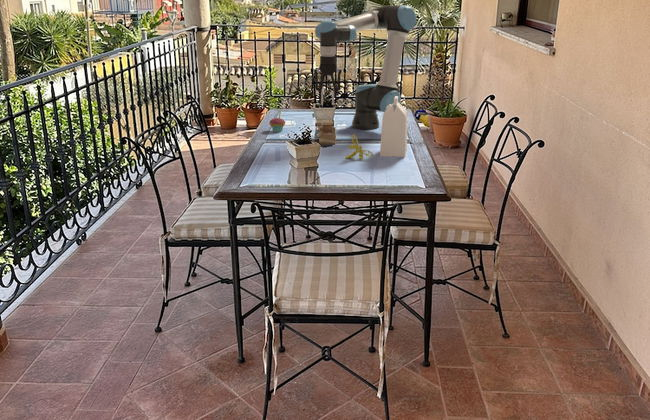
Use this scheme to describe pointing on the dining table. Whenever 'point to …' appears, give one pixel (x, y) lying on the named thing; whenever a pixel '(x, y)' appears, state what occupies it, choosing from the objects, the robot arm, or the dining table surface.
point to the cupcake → (277, 123)
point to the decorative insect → (358, 150)
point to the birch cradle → (327, 137)
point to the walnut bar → (327, 127)
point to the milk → (394, 130)
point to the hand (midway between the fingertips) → (327, 104)
